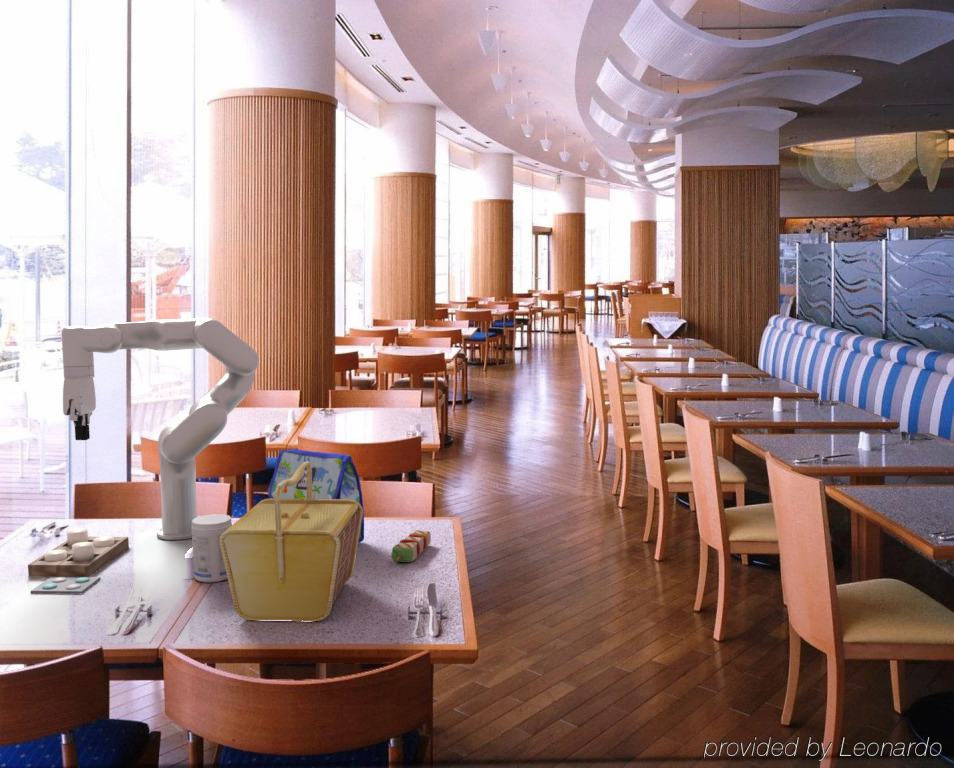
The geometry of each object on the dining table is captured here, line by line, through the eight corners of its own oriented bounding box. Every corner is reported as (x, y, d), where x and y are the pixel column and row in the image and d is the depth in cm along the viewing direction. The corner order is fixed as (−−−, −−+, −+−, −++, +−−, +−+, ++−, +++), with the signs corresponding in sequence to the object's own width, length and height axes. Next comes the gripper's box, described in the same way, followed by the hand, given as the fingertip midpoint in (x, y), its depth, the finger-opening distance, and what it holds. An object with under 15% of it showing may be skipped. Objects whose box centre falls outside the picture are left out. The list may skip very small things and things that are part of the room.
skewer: (411, 544, 251) (411, 526, 250) (434, 546, 249) (434, 528, 249) (384, 567, 231) (384, 548, 231) (408, 570, 229) (408, 550, 229)
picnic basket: (259, 579, 222) (256, 458, 219) (365, 581, 221) (363, 459, 217) (219, 625, 193) (214, 486, 190) (340, 628, 192) (337, 488, 188)
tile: (100, 579, 222) (100, 575, 222) (81, 593, 212) (81, 590, 212) (51, 578, 222) (51, 575, 222) (30, 593, 212) (30, 589, 212)
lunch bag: (265, 549, 246) (262, 453, 243) (299, 532, 262) (297, 443, 258) (337, 558, 238) (335, 460, 235) (368, 541, 253) (366, 448, 250)
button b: (91, 542, 244) (90, 528, 243) (83, 547, 239) (82, 533, 238) (73, 542, 244) (72, 528, 243) (64, 547, 239) (63, 533, 238)
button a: (117, 550, 244) (117, 536, 243) (109, 556, 239) (109, 541, 238) (99, 550, 244) (98, 536, 243) (91, 555, 239) (90, 541, 238)
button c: (97, 556, 231) (97, 541, 231) (88, 562, 226) (88, 547, 226) (78, 556, 232) (77, 541, 231) (69, 562, 227) (68, 547, 226)
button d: (70, 564, 232) (70, 549, 231) (61, 570, 227) (60, 555, 226) (51, 564, 232) (50, 549, 232) (41, 570, 227) (40, 555, 227)
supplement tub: (230, 568, 230) (228, 511, 228) (238, 580, 221) (236, 521, 220) (190, 574, 226) (188, 516, 224) (196, 586, 217) (194, 525, 215)
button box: (128, 547, 247) (128, 536, 247) (89, 577, 223) (88, 565, 223) (74, 547, 247) (73, 536, 247) (28, 576, 224) (27, 564, 223)
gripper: (78, 369, 252) (81, 434, 254) (51, 375, 237) (55, 444, 240) (104, 369, 252) (108, 434, 254) (80, 375, 237) (83, 445, 239)
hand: (82, 439), depth 247 cm, fingers closed
